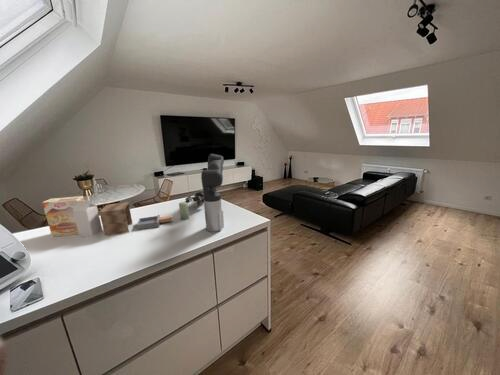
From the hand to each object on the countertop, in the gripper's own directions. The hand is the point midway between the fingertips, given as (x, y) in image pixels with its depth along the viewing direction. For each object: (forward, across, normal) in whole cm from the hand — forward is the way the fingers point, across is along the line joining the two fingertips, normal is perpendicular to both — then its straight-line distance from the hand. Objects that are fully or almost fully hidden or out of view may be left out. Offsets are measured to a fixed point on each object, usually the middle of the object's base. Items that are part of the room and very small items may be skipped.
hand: (191, 202), depth 135 cm
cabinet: (+31, -29, +6) cm, 43 cm away
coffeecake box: (+38, -53, +7) cm, 65 cm away
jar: (+11, 0, +6) cm, 13 cm away
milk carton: (+38, -40, +7) cm, 56 cm away
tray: (+21, -13, +6) cm, 25 cm away
